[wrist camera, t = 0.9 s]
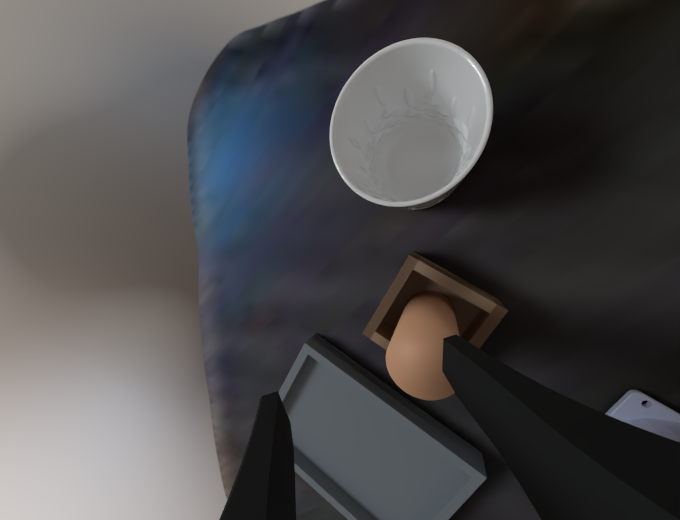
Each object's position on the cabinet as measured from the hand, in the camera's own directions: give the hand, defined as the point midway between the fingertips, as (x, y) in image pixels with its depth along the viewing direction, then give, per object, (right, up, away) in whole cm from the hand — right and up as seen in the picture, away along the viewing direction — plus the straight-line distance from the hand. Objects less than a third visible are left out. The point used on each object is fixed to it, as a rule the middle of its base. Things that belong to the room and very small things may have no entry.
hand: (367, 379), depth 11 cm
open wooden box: (+7, +1, +12) cm, 14 cm away
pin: (+6, 0, +11) cm, 13 cm away
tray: (+1, -13, +16) cm, 20 cm away
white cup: (+5, +13, +11) cm, 18 cm away
